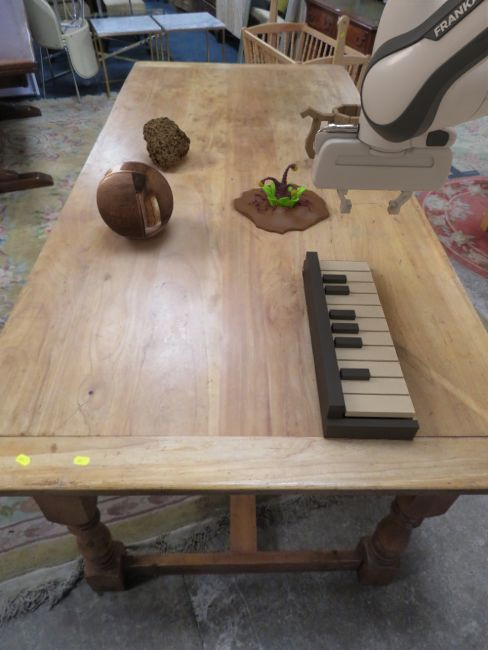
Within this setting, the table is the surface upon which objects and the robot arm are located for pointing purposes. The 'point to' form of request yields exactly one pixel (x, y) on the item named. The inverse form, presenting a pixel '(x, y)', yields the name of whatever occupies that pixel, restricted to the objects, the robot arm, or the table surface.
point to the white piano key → (378, 406)
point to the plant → (282, 206)
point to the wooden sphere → (134, 200)
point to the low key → (344, 266)
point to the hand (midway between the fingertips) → (368, 212)
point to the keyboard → (352, 352)
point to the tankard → (329, 121)
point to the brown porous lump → (165, 142)
